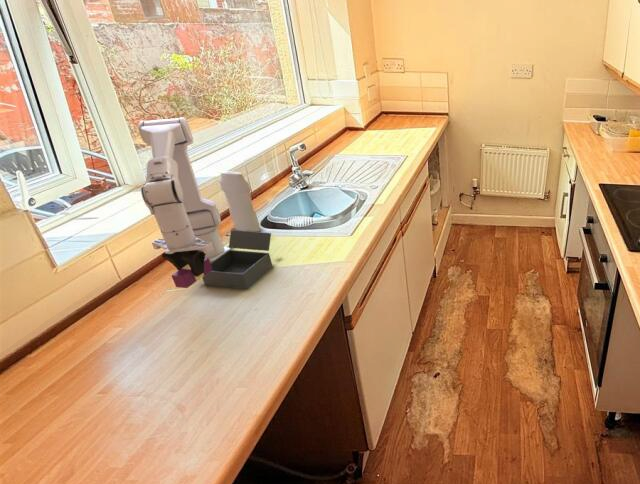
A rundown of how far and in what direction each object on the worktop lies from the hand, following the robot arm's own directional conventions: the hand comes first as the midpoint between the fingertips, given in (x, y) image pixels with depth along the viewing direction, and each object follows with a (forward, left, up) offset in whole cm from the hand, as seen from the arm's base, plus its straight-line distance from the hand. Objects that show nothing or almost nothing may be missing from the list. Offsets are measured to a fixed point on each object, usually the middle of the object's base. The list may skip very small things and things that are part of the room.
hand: (193, 273), depth 102 cm
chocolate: (0, 0, -1) cm, 1 cm away
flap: (+1, +18, -1) cm, 19 cm away
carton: (+1, +12, -9) cm, 15 cm away
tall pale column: (-16, +37, -9) cm, 41 cm away
